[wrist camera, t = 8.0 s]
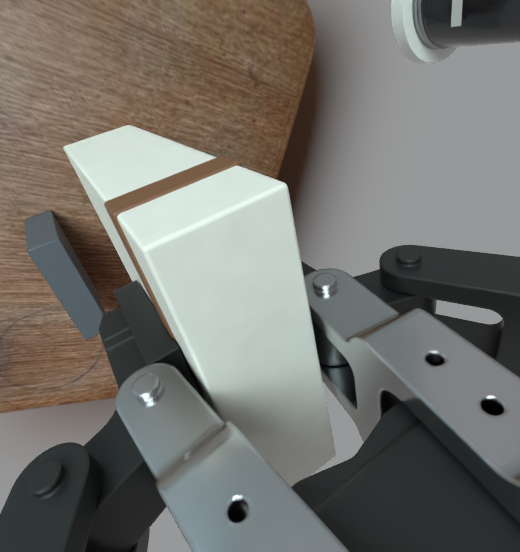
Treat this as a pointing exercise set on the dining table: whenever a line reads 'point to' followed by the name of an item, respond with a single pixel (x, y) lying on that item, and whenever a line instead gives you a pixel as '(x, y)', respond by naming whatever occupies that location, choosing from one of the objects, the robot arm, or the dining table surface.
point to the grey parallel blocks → (64, 272)
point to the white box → (218, 283)
